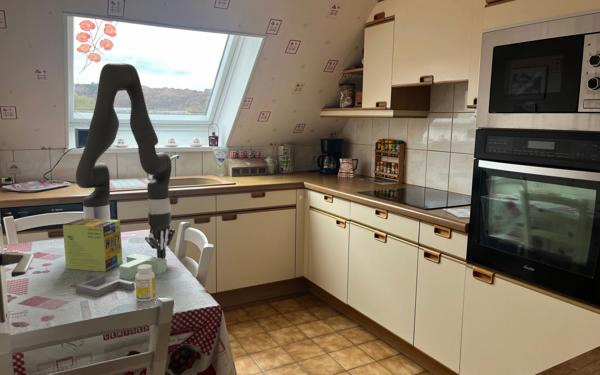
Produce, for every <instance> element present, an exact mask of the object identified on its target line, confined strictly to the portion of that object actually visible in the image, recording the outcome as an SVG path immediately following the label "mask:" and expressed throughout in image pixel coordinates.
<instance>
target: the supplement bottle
mask: <svg viewBox="0 0 600 375" xmlns="http://www.w3.org/2000/svg"><path fill="white" fill-rule="evenodd" d="M137 271H138V273H137V274H136V276H135V277H134V279H135V280H134V281H135V295H136V300H137V301H139V302H142V303H143V302H144V303H145V302H149V301H152V300H154V299H155V298H156V292H157V291H156V274H154V273H153V272H151V271H152V265H149V264H143V265H139V266H138V267H137Z"/></svg>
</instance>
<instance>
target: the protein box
mask: <svg viewBox="0 0 600 375" xmlns="http://www.w3.org/2000/svg"><path fill="white" fill-rule="evenodd" d="M62 229H63V230H62V233H63V245H64V256H65V269H67V270H79V271H80V270H81V271H91V272H108V271H110V270H111V269H113V268H115V267H117V266H120V265H121V264H123V261H124V260H123V250H122V249H123V248H122V232H121V220H120V219H110V220H109V219H87V218H84V217H83V218H79V219H77V220H73V221H69V222H67V223H64V224H62Z"/></svg>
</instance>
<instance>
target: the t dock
mask: <svg viewBox="0 0 600 375" xmlns="http://www.w3.org/2000/svg"><path fill="white" fill-rule="evenodd" d="M85 275H86V280H85V281H82V282H79V283H78V284H75V291H76V293H80V294H84V295H88V296H89V295H90V296H93V297H96V298H97V297H99V296H103V295H105V294H107V293H110V292H112V291H114V290H116V289H124V290H127V291H132V290H136V284H135V282H134V281H130V280H127V279H122V278H118V279H116V280H112V281H110V282H108V283H106V276H105V275H102V274H98V273H93V272H88V273H86V274H85ZM104 283H106V284H104ZM101 284H102V285H101ZM99 285H100V286H99ZM97 286H98V287H97Z"/></svg>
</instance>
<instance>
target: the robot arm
mask: <svg viewBox="0 0 600 375" xmlns="http://www.w3.org/2000/svg"><path fill="white" fill-rule="evenodd" d="M97 86H98V88H97V94H96V95H97V96H96V101H95V105H94V109H93V113H92V117H91V121H90V124H89V128H88V132H87V134H88V135H87V138H86V140H85V141H86V142H85V146H84V148H83V151H82V155H81V156H80V159H79V161H78V164H77V167H76V171H75V181H76V184H77V186H78V187H79V188H81V189H94V190H93V191H92V192H91V193H90V194H88V195H87V196H85V197H84V198H83V199H82V205H83V206H82V207H83V208H82V209H83V218H87V219H109V220H111V212H110V210H111V209H110V198H111V188H110V185H111V182H110V181H111V176H110V175H111V174H110V170H109V167H108V165H107V164H106V163H104V162H97V161H98V160H99V159H100V157H101V156H102V155H103V154H104V153H105V152H106V151H107V150H108V149H109V148H110V147H111V146H112V145H113V144H114V143H115V141H116V138H117V135H118V132H119V127H120V121H119V117H118V114H117V113H116V110H115V106H114V104H115V99H116V96H117V93H118V92H123V91H126V93H127V96H128V97H129V101H130V117H129V125H130V130H131V133H132V135H133V137H134V140H135V143H136V145H137V150H138V158H139V163H140V167H141V168H142V170H143V171H144V172H145V173H146V174H148V175H150V176H152V179H151V181H149V182H148V183H147V187H146V190H147V191H146V192H147V219H148V225H149V227H150V229H149V235H148V236H145V237H144V240H145V241H146V243H147V244H148V245H149V246H150V248H152V249H154V250H156V257H157V258H162V259H166V256H167V255H166V253H167V249H166V248H167V247H168V246H170V245H171V242H172V240H173V238H174V235H175V233H176V230H175V229H172V228H171V225H170V224H171V223H172V221H171V220H172V216H171V215H172V214H171V213H172V212H171V203H170V202H171V201H170V190H169V184H170V180H171V175H172V170H173V169H172V168H173V167H172V161H171V157H170V156H169V155H168V154H167V153H166V152H163V151H162V152H161V151H160V152H157V151H156V146H157V145H158V144H159V138H158V136H157V133H156V130H155V128H154V126H153V124H152V121H151V118H150V115H149V112H148V108H147V104H146V99H145V95H144V92H143V87H142V83H141V80H140V76H139V73H138V70H137V68H136V67H135V66H134V65H133V64H132V63H130V62H108V63H106V64H104V65H103V66H102V68H101V71H100V73H99V78H98V85H97Z"/></svg>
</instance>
